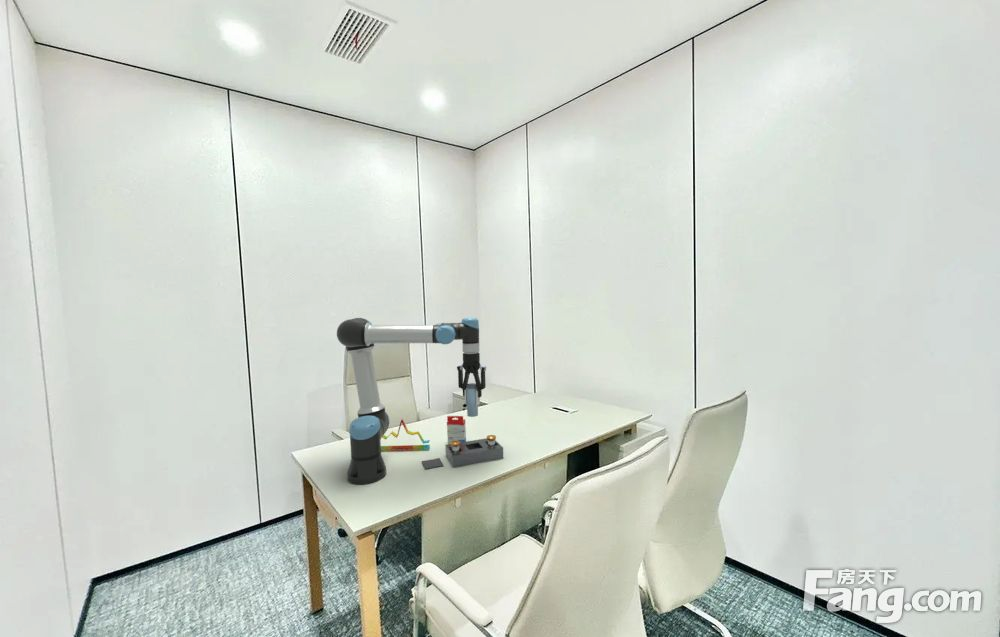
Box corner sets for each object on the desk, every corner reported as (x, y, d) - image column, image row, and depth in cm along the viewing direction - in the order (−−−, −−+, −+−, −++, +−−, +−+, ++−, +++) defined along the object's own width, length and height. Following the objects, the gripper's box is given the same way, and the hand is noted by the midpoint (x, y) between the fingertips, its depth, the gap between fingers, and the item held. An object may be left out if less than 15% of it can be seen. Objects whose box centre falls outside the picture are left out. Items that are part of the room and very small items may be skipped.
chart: (364, 452, 186) (363, 421, 185) (367, 450, 189) (365, 419, 188) (428, 451, 186) (427, 420, 185) (429, 448, 189) (428, 418, 188)
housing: (453, 467, 166) (452, 456, 166) (445, 455, 179) (445, 444, 179) (503, 458, 174) (503, 447, 174) (492, 447, 187) (492, 437, 187)
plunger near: (452, 461, 171) (451, 444, 171) (450, 457, 175) (449, 441, 175) (461, 459, 173) (461, 443, 172) (459, 456, 177) (458, 440, 176)
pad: (424, 469, 165) (424, 468, 165) (421, 462, 172) (421, 461, 172) (443, 466, 168) (443, 465, 168) (439, 459, 175) (439, 458, 175)
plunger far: (488, 455, 177) (488, 438, 177) (485, 451, 181) (485, 435, 181) (497, 453, 179) (497, 437, 178) (494, 450, 183) (494, 434, 182)
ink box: (466, 442, 196) (465, 413, 195) (464, 445, 191) (463, 416, 190) (449, 441, 196) (448, 413, 196) (447, 445, 192) (446, 416, 191)
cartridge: (475, 417, 173) (474, 385, 172) (465, 416, 174) (464, 385, 174) (479, 414, 177) (478, 383, 176) (470, 413, 179) (469, 383, 178)
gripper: (492, 351, 175) (493, 403, 176) (456, 350, 181) (457, 400, 182) (486, 354, 168) (487, 407, 169) (449, 353, 174) (450, 404, 175)
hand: (472, 403), depth 176 cm, fingers closed on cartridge, 5 cm apart
